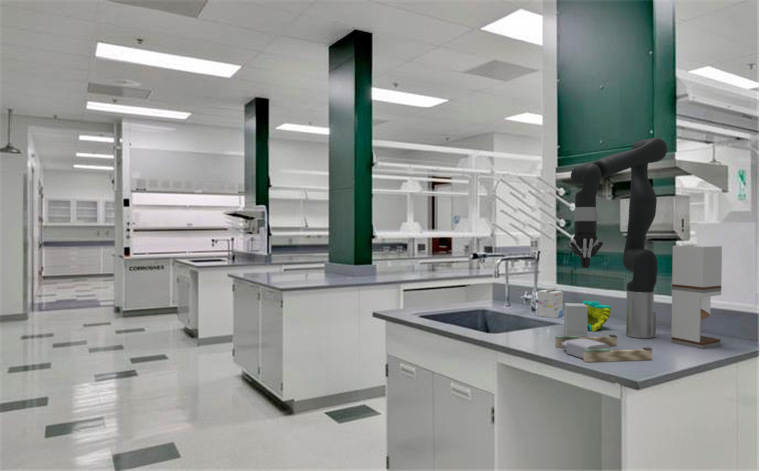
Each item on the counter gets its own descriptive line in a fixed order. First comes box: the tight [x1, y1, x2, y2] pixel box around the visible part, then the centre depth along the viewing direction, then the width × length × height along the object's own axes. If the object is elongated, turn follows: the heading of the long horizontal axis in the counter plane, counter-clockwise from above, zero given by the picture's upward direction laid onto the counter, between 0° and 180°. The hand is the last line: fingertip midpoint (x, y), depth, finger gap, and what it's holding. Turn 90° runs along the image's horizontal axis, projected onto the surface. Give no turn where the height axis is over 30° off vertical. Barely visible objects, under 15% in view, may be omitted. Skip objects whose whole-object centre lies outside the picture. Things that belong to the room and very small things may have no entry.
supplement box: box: [563, 302, 589, 337], centre depth 188 cm, size 7×7×13 cm
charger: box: [561, 338, 610, 359], centre depth 165 cm, size 5×9×15 cm
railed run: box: [554, 334, 653, 363], centre depth 166 cm, size 22×20×4 cm
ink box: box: [537, 286, 564, 319], centre depth 234 cm, size 9×8×13 cm
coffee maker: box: [670, 244, 723, 350], centre depth 179 cm, size 11×11×35 cm
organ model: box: [581, 300, 612, 333], centre depth 206 cm, size 15×12×13 cm
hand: (585, 267), depth 182 cm, fingers closed
